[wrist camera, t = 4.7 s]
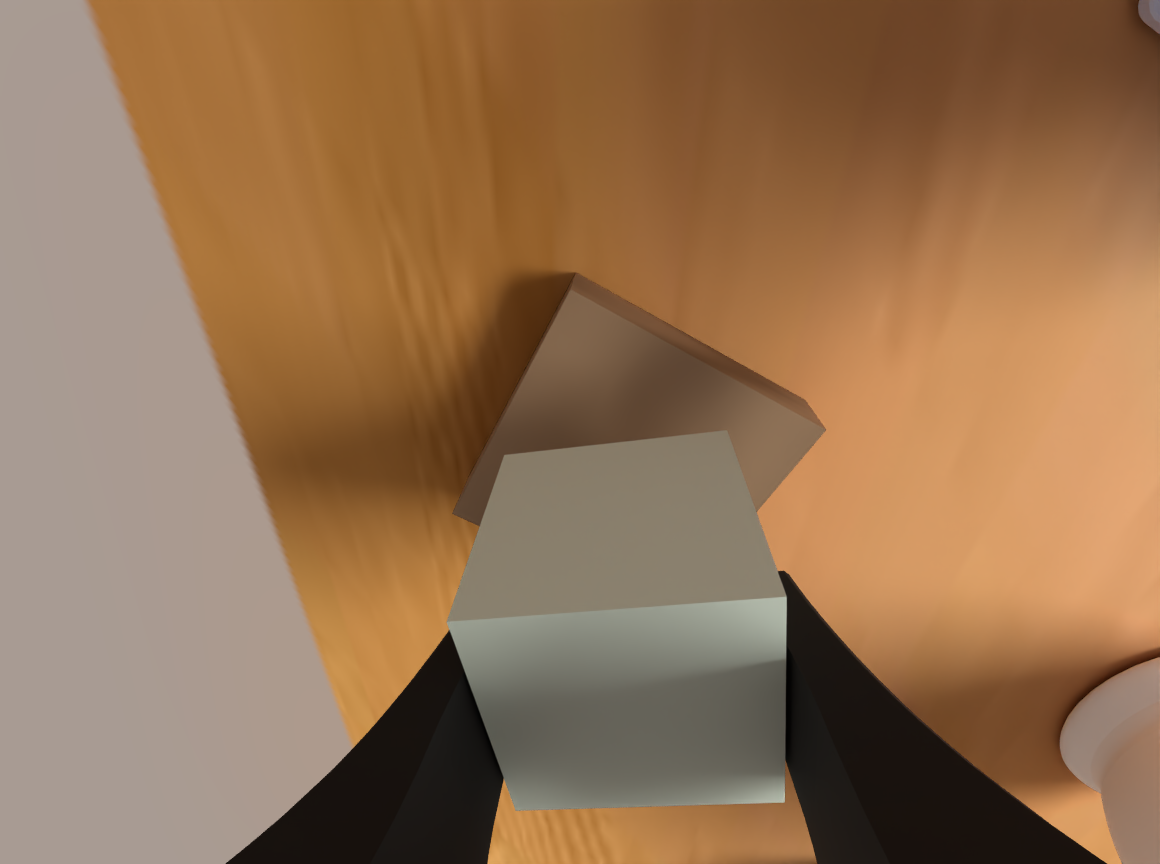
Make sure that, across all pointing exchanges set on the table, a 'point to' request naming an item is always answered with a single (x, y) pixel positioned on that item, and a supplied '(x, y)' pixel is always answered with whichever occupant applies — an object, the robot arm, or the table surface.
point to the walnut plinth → (639, 396)
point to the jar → (1121, 757)
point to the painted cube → (627, 628)
